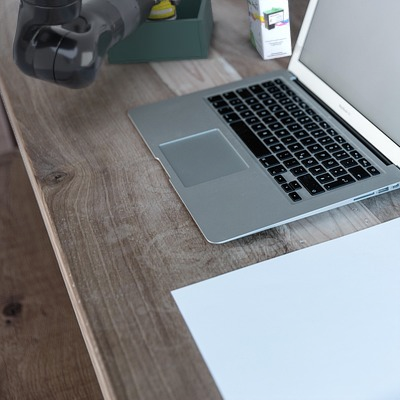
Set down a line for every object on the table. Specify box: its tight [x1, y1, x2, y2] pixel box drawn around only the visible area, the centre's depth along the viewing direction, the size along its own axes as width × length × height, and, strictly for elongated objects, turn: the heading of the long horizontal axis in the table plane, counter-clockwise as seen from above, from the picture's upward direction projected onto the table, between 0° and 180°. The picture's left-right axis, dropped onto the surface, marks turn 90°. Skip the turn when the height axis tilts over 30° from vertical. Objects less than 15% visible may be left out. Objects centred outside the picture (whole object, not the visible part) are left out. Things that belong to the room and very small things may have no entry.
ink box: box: [246, 0, 293, 60], centre depth 113 cm, size 8×5×12 cm, turn 19°
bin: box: [107, 0, 215, 65], centre depth 118 cm, size 16×16×7 cm
